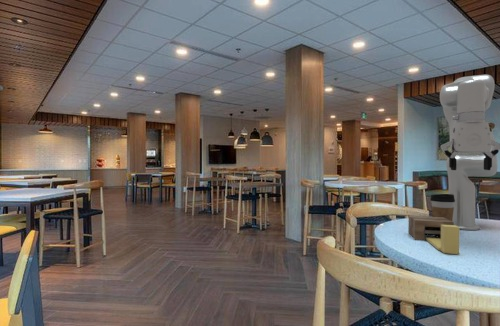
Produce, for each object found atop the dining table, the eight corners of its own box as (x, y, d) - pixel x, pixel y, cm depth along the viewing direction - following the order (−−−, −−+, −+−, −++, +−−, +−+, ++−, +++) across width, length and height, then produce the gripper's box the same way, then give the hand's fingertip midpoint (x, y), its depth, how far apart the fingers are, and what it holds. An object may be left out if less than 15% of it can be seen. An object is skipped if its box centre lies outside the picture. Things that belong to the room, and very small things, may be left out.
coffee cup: (458, 234, 117) (459, 195, 117) (434, 233, 119) (434, 195, 119) (449, 230, 126) (449, 193, 126) (426, 228, 127) (427, 193, 127)
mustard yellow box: (425, 239, 108) (425, 216, 108) (441, 240, 107) (441, 217, 107) (442, 252, 92) (442, 226, 92) (461, 254, 91) (461, 227, 91)
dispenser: (408, 233, 118) (408, 215, 118) (443, 235, 115) (443, 217, 115) (415, 240, 108) (415, 220, 108) (454, 242, 105) (454, 222, 105)
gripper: (444, 118, 100) (444, 170, 101) (507, 116, 95) (506, 170, 96) (437, 120, 107) (437, 169, 108) (495, 118, 103) (495, 169, 103)
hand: (470, 169), depth 102 cm, fingers open, 9 cm apart
